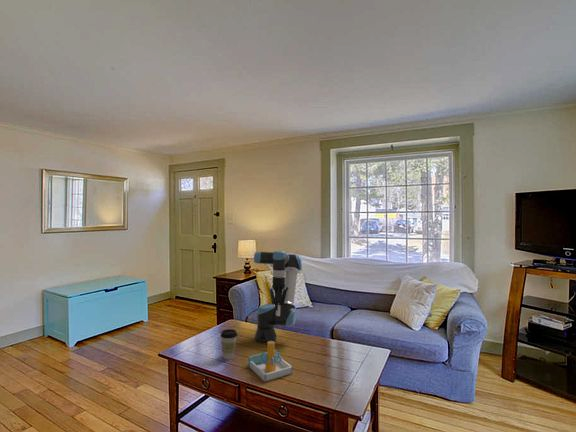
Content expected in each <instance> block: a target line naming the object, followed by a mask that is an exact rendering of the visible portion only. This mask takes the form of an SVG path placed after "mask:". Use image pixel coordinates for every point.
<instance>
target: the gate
mask: <svg viewBox="0 0 576 432" xmlns="http://www.w3.org/2000/svg"><path fill="white" fill-rule="evenodd" d="M276 352H278V350H277V349H275V353H276ZM262 353H263V352H262ZM262 353H258V354H253V355H250V356H248V359H247V360H248V361H247V363H248V365H247V366H248V367H250V361H252V362H254V363H255V364H256V365H259V364H262V362H261V357H260V356H261V354H262ZM264 353H266V354H267V351H266V352H264ZM276 355H278V354H276ZM263 356H266V355H264V354H263V355H262V357H263ZM263 359H266V357H265V358H263ZM263 362H266V361H263Z"/></svg>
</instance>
